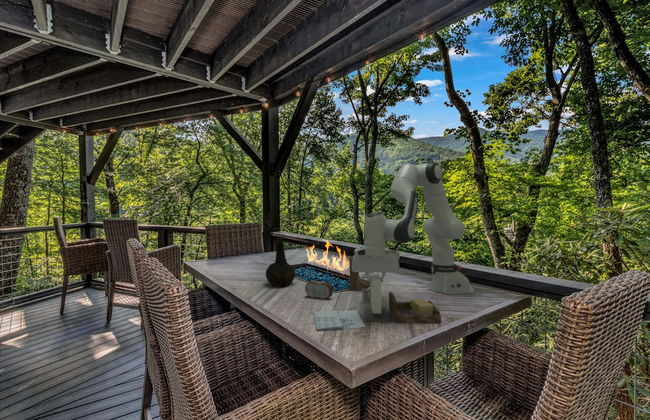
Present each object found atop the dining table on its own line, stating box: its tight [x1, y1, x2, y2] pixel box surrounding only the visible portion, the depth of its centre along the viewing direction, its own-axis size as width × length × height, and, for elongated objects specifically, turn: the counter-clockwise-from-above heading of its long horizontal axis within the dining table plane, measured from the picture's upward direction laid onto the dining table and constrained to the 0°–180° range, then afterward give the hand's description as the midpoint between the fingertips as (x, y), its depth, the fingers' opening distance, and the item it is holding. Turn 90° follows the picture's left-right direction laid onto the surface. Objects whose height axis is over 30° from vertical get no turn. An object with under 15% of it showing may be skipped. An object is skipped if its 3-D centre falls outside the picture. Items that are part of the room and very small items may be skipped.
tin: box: [304, 280, 334, 300], centre depth 162 cm, size 15×3×8 cm, turn 65°
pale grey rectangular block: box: [369, 273, 382, 313], centre depth 137 cm, size 4×11×14 cm, turn 176°
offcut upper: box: [409, 298, 433, 314], centre depth 135 cm, size 6×9×3 cm, turn 10°
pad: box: [363, 307, 391, 323], centre depth 137 cm, size 10×14×1 cm
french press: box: [357, 272, 377, 308], centre depth 152 cm, size 10×12×25 cm
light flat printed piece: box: [313, 309, 366, 332], centre depth 132 cm, size 19×20×2 cm
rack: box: [388, 291, 442, 324], centre depth 136 cm, size 18×17×8 cm
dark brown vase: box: [265, 237, 296, 287], centre depth 190 cm, size 18×18×28 cm
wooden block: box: [348, 256, 368, 292], centre depth 175 cm, size 9×4×18 cm, turn 75°
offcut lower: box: [411, 308, 433, 315], centre depth 135 cm, size 6×9×3 cm, turn 1°
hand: (375, 282), depth 136 cm, fingers closed on pale grey rectangular block, 3 cm apart
